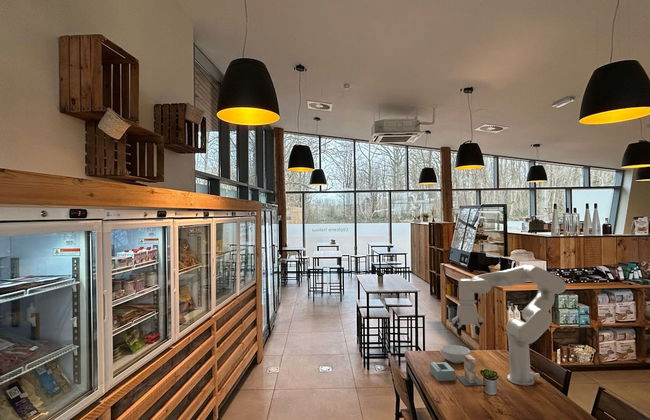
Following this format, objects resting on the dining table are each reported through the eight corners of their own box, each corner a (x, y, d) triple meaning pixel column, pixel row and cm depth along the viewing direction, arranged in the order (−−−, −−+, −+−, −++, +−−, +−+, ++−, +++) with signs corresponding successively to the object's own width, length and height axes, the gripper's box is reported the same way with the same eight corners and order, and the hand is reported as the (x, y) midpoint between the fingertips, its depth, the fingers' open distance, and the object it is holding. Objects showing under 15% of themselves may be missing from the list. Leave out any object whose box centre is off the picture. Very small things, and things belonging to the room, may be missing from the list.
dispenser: (446, 371, 200) (446, 360, 200) (455, 380, 188) (454, 369, 188) (430, 371, 199) (429, 361, 199) (437, 381, 187) (437, 370, 188)
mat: (475, 376, 192) (475, 375, 192) (485, 385, 181) (485, 384, 181) (455, 377, 191) (455, 376, 191) (464, 386, 180) (464, 385, 180)
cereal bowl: (472, 367, 204) (471, 355, 204) (442, 365, 208) (441, 353, 208) (468, 356, 220) (468, 345, 221) (440, 354, 225) (440, 343, 225)
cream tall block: (470, 377, 189) (469, 354, 190) (476, 382, 183) (475, 359, 183) (464, 377, 189) (463, 354, 190) (470, 383, 183) (469, 359, 183)
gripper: (479, 300, 192) (480, 332, 191) (448, 301, 191) (449, 333, 190) (486, 303, 185) (488, 336, 184) (453, 304, 184) (455, 337, 183)
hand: (468, 334), depth 187 cm, fingers open, 9 cm apart
